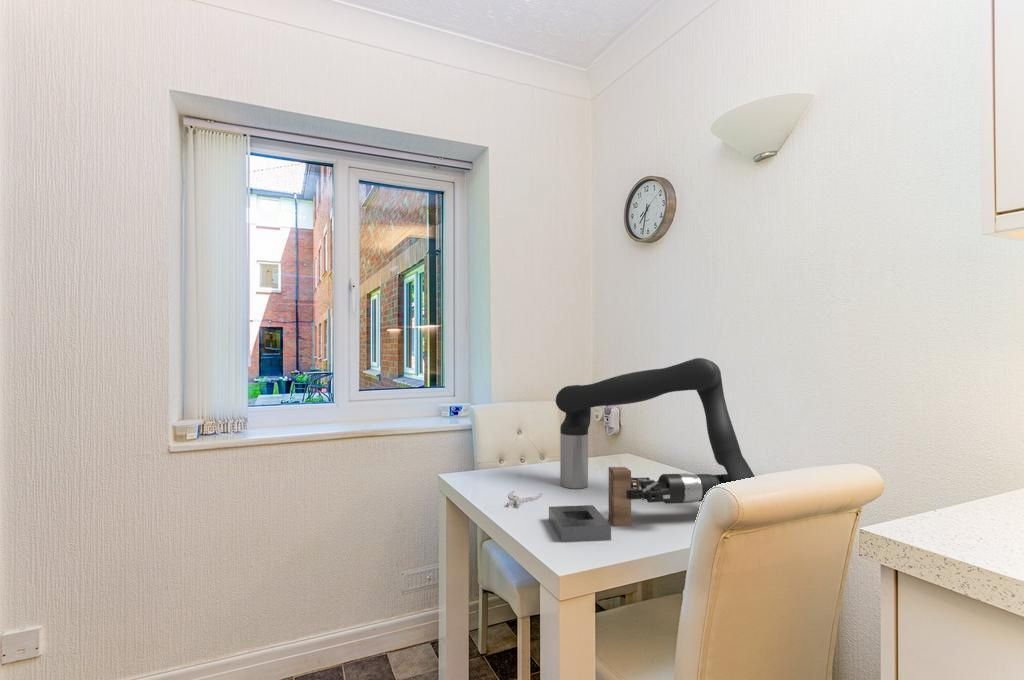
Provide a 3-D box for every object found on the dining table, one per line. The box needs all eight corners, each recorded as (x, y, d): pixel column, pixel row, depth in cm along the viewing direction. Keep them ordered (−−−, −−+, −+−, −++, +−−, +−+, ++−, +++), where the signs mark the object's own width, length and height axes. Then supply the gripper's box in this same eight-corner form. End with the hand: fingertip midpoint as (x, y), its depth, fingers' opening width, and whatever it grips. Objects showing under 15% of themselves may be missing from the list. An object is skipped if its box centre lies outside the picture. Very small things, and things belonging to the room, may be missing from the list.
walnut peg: (608, 520, 129) (608, 467, 129) (624, 519, 129) (624, 466, 129) (614, 526, 124) (614, 471, 124) (631, 525, 125) (631, 470, 125)
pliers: (542, 490, 151) (529, 505, 137) (542, 495, 151) (528, 511, 137) (512, 487, 154) (496, 501, 140) (512, 492, 154) (496, 507, 140)
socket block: (548, 520, 128) (548, 506, 128) (592, 518, 130) (592, 505, 130) (561, 542, 113) (561, 527, 114) (611, 540, 115) (611, 525, 115)
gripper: (668, 467, 136) (612, 468, 134) (693, 481, 122) (631, 482, 120) (668, 494, 136) (612, 496, 134) (693, 511, 122) (631, 513, 120)
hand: (621, 489), depth 127 cm, fingers open, 8 cm apart
